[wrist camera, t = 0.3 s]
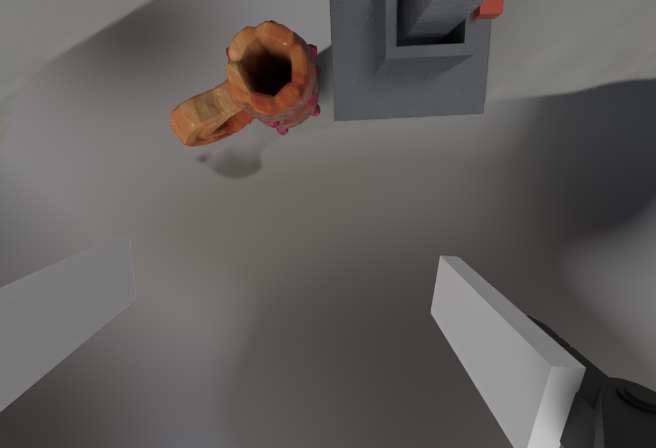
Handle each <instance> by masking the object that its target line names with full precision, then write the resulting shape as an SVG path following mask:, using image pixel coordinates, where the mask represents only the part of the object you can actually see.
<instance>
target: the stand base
mask: <svg viewBox="0 0 656 448" xmlns="http://www.w3.org/2000/svg"><path fill="white" fill-rule="evenodd" d="M399 2H400V0H330V16H331V40H332V67H333V92H334V117H335V121H347V120H367V119H387V118H407V117H427V116H447V115H467V114H482V113H484V101H485V89H486V76H487V63H488V50H489V37H490V24H491V19H494V18H496V17H498V16H499V15H500V14H502V11H503V0H485V1H483V2H482V3H481V5H480V6H479V7H478V8H477V9H475V10H473V11H472V12H471V13H470V14H469V15H468V16H467V17H466V18H465V19H464V20H463V21H462V22H461V23H459V24H458V25H457V26H456V27H455V28H454V29H452V30H451V32H450V33H449V34H448V35H446V36H445V37H444V38H442V39H441V40H440V42H439V43H438V44H436V45H421V46H402V47H396V22H397V6H398V4H399Z"/></svg>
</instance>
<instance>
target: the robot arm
mask: <svg viewBox="0 0 656 448" xmlns="http://www.w3.org/2000/svg"><path fill="white" fill-rule="evenodd" d="M135 299H136V289H135V280H134V271H133V263H132V254H131V245H130V239H123V238H110V239H107V240H105V241H103V242H101V243H99V244H96V245H94V246H92V247H90V248H88V249H85V250H83V251H81V252H79V253H76V254H74V255H72V256H70V257H68V258H65V259H63V260H61V261H59V262H57V263H54V264H52V265H50V266H48V267H45V268H43V269H41V270H39V271H37V272H34V273H32V274H30V275H28V276H26V277H23V278H21V279H19V280H17V281H15V282H12V283H10V284H8V285H6V286H3V287H1V288H0V412H1V411H2V410H3V409H4V408H5V407H7V406H8V405H9V404H10V403H11V402H12V401H14V400H15V399H16V398H17V397H19V396H20V395H21V394H22V393H23V392H25V391H26V390H27V389H28V388H29V387H31V386H32V385H33V384H34V383H35V382H37V381H38V380H39V379H40V378H41V377H42V376H44V375H45V374H46V373H47V372H49V371H50V370H51V369H52V368H53V367H55V366H56V365H57V364H58V363H59V362H61V361H62V360H63V359H64V358H65V357H67V356H68V355H69V354H70V353H71V352H72V351H74V350H75V349H76V348H77V347H78V346H80V345H81V344H82V343H83V342H84V341H86V340H87V339H88V338H89V337H90V336H92V335H93V334H94V333H95V332H97V331H98V330H99V329H100V328H101V327H103V326H104V325H105V324H106V323H107V322H109V321H110V320H111V319H112V318H113V317H114V316H116V315H117V314H118V313H119V312H121V311H122V310H123V309H124V308H125V307H127V306H128V305H129V304H130V303H131V302H133V301H134V300H135ZM431 314H432V316H433V317H434V319H435V320H436V322H437V324H438V325H439V327H440V329H441V330H442V332H443V333H444V335H445V337H446V338H447V340H448V342H449V343H450V345H451V346H452V348H453V350H454V351H455V353H456V355H457V356H458V358H459V359H460V361H461V363H462V364H463V366H464V367H465V369H466V371H467V372H468V374H469V376H470V377H471V379H472V381H473V382H474V384H475V385H476V387H477V389H478V390H479V392H480V394H481V395H482V397H483V398H484V400H485V402H486V403H487V405H488V407H489V408H490V410H491V411H492V413H493V415H494V416H495V418H496V419H497V421H498V423H499V424H500V426H501V428H502V429H503V431H504V432H505V434H506V436H507V437H508V439H509V441H510V442H511V444H512V445H513V447H514V448H559V447H560V444H562V445H563V446H564V448H656V392H654V391H653V390H650V389H648V388H646V387H644V386H642V385H639V384H637V383H634V382H631V381H627V380H625V379H620V378H612V377H610V378H609V377H608V376H607V375H605V374H604V373H603V372H602V371H601V370H599V369H598V368H597V367H596V366H594V365H593V364H592V363H591V362H590V361H588V360H587V359H586V358H585V357H584V356H583V355H581V354H580V353H579V352H578V351H577V350H575V349H574V348H573V347H570V345H569V344H568V343H567V342H566V341H565V340H563V339H562V338H559V335H557V334H556V333H555V332H554V331H553V330H551V329H550V328H549V327H548V326H547V325H545V324H543V323H541V322H540V321H538V320H536V319H534V318H532V317H531V316H529V315H528V316H527V315H525V314H523V313H522V312H521V311H520V310H519V309H517V308H516V307H515V306H514V305H513V304H512V303H511V302H510V301H508V300H507V299H506V298H505V297H504V296H502V294H500V293H499V292H498V291H497V290H496V289H495V288H493V287H492V286H491V285H490V284H489V283H488V282H487V281H485V280H484V279H483V278H482V277H481V276H480V275H478V274H477V273H476V272H475V271H474V270H473V269H472V268H470V267H469V266H468V265H467V264H466V263H465V262H463V261H462V260H461V259H460V258H459V257H455V256H454V257H453V256H440V261H439V267H438V273H437V279H436V285H435V290H434V296H433V303H432V308H431Z"/></svg>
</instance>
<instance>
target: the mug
mask: <svg viewBox="0 0 656 448" xmlns="http://www.w3.org/2000/svg"><path fill="white" fill-rule="evenodd" d="M226 53H227V56H228V58H229V61H228V64H227V65H226V73H227V80H226V81H224V82H223V83H221V84H220V85H218V86H216V87H215V88H213V89H212V90H209V91H207V92H204V93H201V94H199V95H196V96H194V97H192V98H190V99H188V100H187V101H184V102H183V103H181V104H180V105H178V106H177V107H176V109H174V110H173V112H172V115H171V118H170V124H171V127H172V128H173V130H174V133H175V134H176V135H178V137H179V139H181V141H182V142H183V144H184V145H187V146H193V147H194V146H201V145H205V144H209V143H212V142H215V141H218V140H220V139H223V138H225V137H228V136H230V135H232V134H233V133H237V132H238V131H240V130H241V129H242V128H243V127H245V126H246V125H247V124H250V123H251V121H252V120H253V119H254V118H255V117H256V118H257V119H259V120H260V121H261V122H263V123H264V124H266V125H268V126H270V127H273V128H277V131H278V132H279V133H280V134H281V135H285V134H286V133H287V132H288V128H291V127H294V126H296V125H299V124H301V123H302V122H303V121H305V120H306V119H307V118H308V117H309V116H310V115H312V116H317V115H319V114H320V107H319V105H318V104H317V102H318V94H319V82H318V78H317V77H318V76H319V74H320V68H319V67H318V65H316V64H315V60H314V59H315V58H316V57H317V46H314V45H312V44H307V43H306V42H305V41H304V40H303V39H302V38H301V37H300V36H298V35H297V34H296V33H295V32H293V31H291V30H290V29H288V28H287V27H285V26H284V25H282V24H278V23H276V22H275V21H272V20H271V21H265V22H263V23H261V24H259V26H257V27H249V26H247V27H245V28H244V29H243V30H241V31H240V32H239V33H237V34H236V35H235V37H234V38H233V40H232V42H231V44H230V46H229V47H228V48H227V49H226Z"/></svg>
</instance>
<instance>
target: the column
mask: <svg viewBox="0 0 656 448" xmlns="http://www.w3.org/2000/svg"><path fill="white" fill-rule="evenodd" d="M483 1H485V0H400V2H399V4H398V6H397V22H396V47H402V46H421V45H436V44H438V43H439V42H440V40H441V39H442V38H444V37H445V36H446V35H448V34H449V33H450V32H451V30H452V29H454V28H455V27H456V26H457V25H458V24H459V23H461V22H462V21H463V20H464V19H465V18H466V17H467V16H468V15H469V14H470V13H471V12H472V11H473V10H475V9H477V8H478V7H479V6H480V5H481V3H482V2H483Z"/></svg>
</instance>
